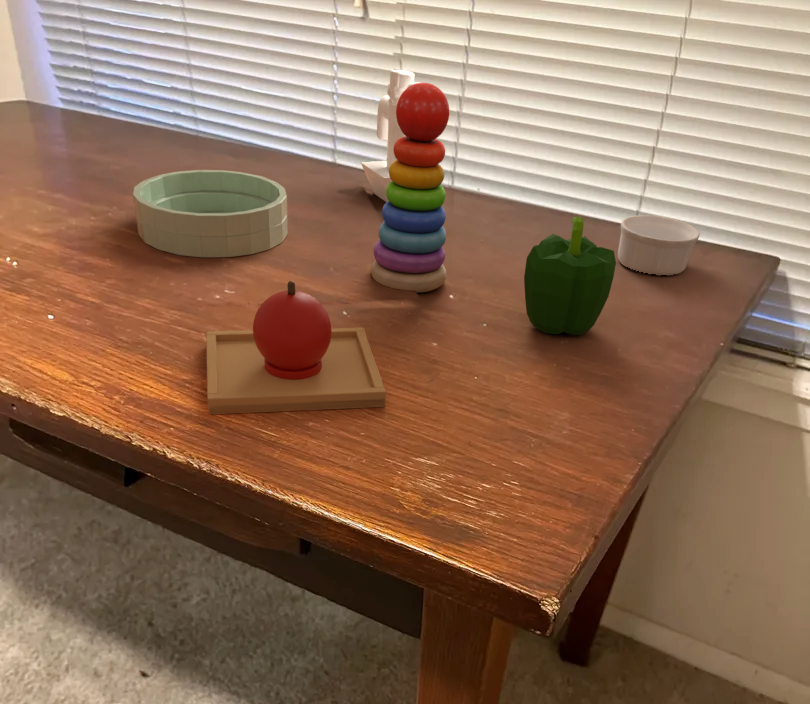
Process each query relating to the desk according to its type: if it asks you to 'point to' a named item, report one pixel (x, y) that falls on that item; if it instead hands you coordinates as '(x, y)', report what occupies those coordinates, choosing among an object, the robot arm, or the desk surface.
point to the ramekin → (656, 244)
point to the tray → (262, 392)
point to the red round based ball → (292, 334)
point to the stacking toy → (415, 196)
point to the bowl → (211, 213)
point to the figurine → (388, 131)
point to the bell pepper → (567, 282)
